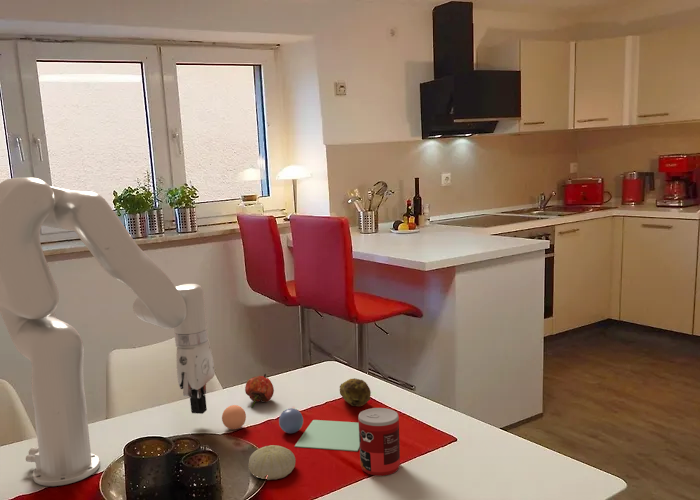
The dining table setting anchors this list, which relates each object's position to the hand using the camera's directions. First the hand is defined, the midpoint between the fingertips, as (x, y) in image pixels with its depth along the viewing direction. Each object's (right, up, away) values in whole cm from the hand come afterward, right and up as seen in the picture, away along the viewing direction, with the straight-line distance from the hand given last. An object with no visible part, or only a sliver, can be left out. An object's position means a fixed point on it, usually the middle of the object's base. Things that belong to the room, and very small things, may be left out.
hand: (199, 411), depth 150 cm
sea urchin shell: (+20, -6, -23) cm, 31 cm away
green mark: (+32, -3, -8) cm, 33 cm away
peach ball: (+9, -1, -3) cm, 9 cm away
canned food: (+42, -5, -23) cm, 48 cm away
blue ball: (+22, -1, -6) cm, 23 cm away
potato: (+37, -1, +8) cm, 38 cm away
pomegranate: (+13, -1, +13) cm, 18 cm away
